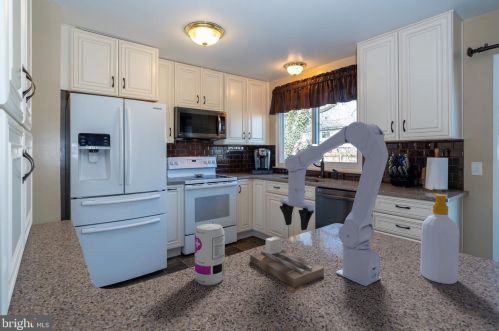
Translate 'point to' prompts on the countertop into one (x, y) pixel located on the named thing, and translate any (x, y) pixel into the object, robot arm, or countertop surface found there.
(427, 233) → the soap bottle
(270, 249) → the block
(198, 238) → the supplement can
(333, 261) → the countertop surface
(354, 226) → the robot arm
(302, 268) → the tan slider track board
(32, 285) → the countertop surface
